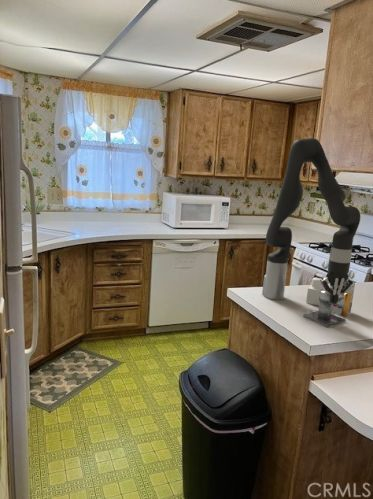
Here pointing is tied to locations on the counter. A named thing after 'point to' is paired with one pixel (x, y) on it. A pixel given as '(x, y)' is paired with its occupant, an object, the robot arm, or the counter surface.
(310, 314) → the grey stand with base
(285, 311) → the counter surface
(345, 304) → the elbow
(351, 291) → the supplement can
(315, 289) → the medicine bottle
